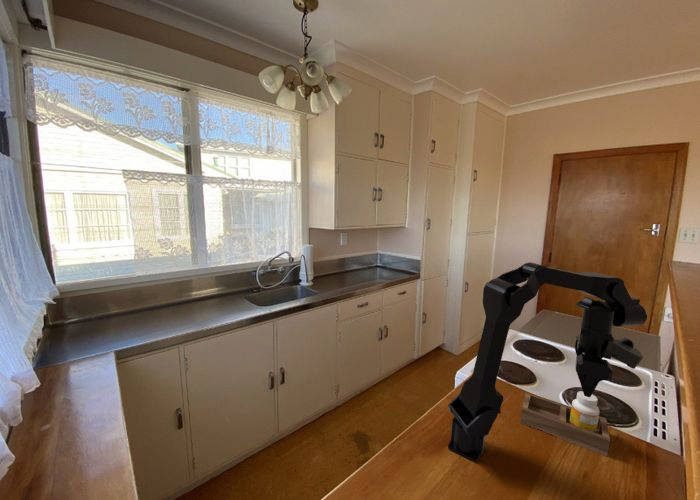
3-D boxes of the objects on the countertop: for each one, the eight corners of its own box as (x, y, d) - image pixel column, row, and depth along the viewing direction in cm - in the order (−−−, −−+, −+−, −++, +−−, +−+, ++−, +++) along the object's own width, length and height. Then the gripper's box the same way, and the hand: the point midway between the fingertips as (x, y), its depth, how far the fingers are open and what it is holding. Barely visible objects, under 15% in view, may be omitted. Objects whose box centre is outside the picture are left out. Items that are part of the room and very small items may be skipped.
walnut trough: (607, 456, 70) (609, 440, 69) (520, 422, 80) (521, 409, 79) (603, 432, 77) (606, 418, 77) (524, 404, 87) (526, 391, 87)
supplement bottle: (567, 421, 80) (572, 386, 78) (593, 429, 77) (599, 393, 76) (569, 434, 75) (575, 397, 74) (597, 443, 72) (603, 405, 71)
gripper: (651, 351, 60) (637, 423, 62) (635, 323, 75) (624, 382, 77) (581, 335, 66) (570, 401, 69) (579, 312, 81) (570, 367, 84)
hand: (586, 387), depth 74 cm, fingers open, 9 cm apart
